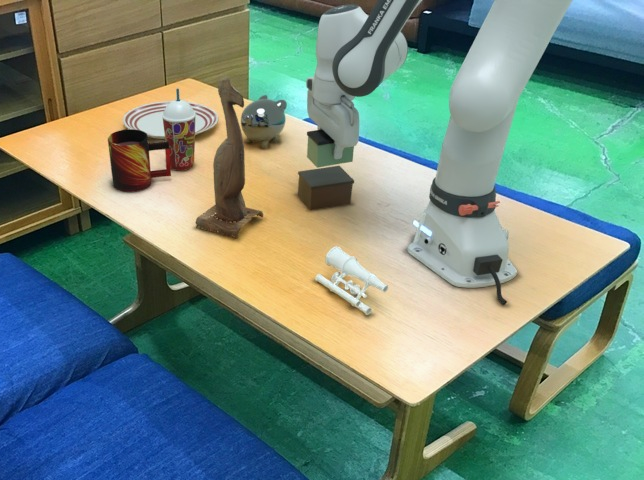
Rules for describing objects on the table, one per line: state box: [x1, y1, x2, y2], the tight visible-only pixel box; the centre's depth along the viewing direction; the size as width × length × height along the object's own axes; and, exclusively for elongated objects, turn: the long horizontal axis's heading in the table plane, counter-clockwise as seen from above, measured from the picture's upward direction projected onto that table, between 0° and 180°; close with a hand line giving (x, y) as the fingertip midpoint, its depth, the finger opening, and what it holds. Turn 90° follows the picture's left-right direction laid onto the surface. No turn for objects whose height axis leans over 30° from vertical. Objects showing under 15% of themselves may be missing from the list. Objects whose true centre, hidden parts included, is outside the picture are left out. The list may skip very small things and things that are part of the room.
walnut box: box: [297, 165, 355, 211], centre depth 158 cm, size 8×10×6 cm
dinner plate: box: [122, 100, 219, 140], centre depth 195 cm, size 27×27×3 cm
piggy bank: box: [240, 94, 288, 149], centre depth 183 cm, size 11×15×12 cm
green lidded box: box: [306, 129, 355, 169], centre depth 151 cm, size 6×9×6 cm
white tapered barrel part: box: [314, 245, 389, 316], centre depth 128 cm, size 8×14×5 cm
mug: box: [107, 128, 172, 193], centre depth 166 cm, size 10×14×12 cm
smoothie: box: [162, 88, 196, 172], centre depth 170 cm, size 8×8×20 cm
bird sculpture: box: [194, 77, 264, 239], centre depth 142 cm, size 11×12×32 cm
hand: (330, 151), depth 151 cm, fingers closed on green lidded box, 6 cm apart
